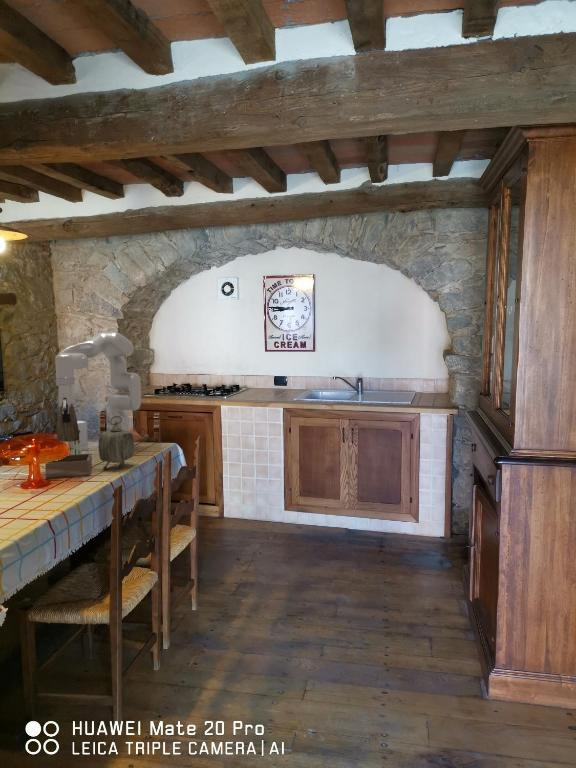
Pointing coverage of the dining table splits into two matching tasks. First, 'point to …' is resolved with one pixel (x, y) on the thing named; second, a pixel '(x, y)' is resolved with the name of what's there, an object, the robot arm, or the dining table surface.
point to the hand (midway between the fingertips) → (67, 420)
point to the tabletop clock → (116, 445)
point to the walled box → (69, 467)
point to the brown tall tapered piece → (67, 427)
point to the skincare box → (83, 434)
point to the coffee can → (75, 446)
